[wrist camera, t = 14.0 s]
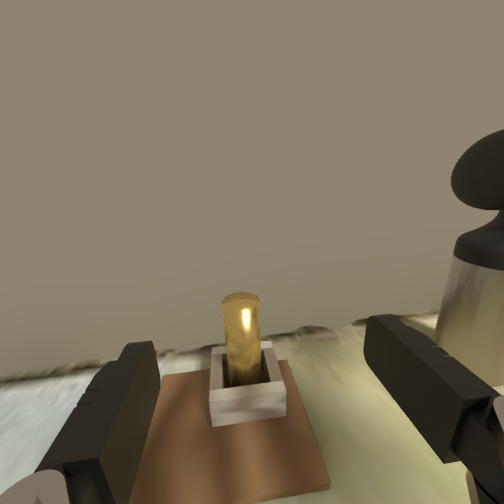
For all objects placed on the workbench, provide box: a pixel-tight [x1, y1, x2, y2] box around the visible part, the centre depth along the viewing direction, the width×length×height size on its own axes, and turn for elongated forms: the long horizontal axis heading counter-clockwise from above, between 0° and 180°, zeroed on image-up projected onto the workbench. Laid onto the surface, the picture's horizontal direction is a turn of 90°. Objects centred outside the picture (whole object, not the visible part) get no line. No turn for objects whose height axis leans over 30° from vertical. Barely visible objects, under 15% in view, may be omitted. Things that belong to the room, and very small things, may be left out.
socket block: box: [129, 341, 330, 504], centre depth 29 cm, size 19×16×5 cm
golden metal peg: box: [222, 292, 262, 388], centre depth 30 cm, size 4×4×14 cm
